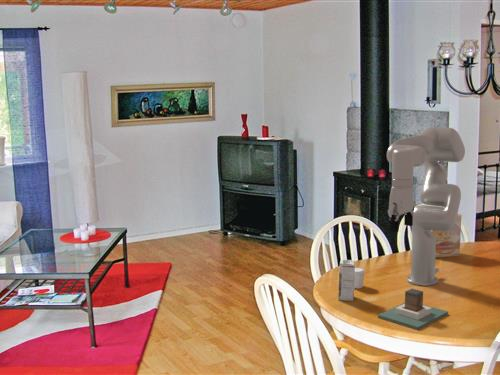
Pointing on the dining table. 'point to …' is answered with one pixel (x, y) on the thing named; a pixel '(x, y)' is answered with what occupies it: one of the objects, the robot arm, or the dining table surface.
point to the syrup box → (346, 280)
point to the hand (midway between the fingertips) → (401, 228)
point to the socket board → (413, 316)
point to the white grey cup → (358, 277)
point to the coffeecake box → (448, 240)
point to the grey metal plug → (414, 300)
